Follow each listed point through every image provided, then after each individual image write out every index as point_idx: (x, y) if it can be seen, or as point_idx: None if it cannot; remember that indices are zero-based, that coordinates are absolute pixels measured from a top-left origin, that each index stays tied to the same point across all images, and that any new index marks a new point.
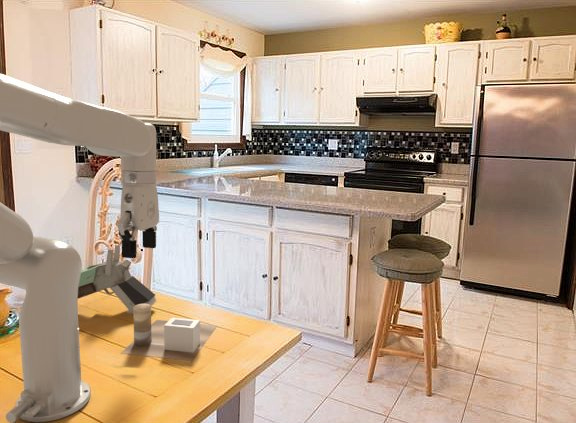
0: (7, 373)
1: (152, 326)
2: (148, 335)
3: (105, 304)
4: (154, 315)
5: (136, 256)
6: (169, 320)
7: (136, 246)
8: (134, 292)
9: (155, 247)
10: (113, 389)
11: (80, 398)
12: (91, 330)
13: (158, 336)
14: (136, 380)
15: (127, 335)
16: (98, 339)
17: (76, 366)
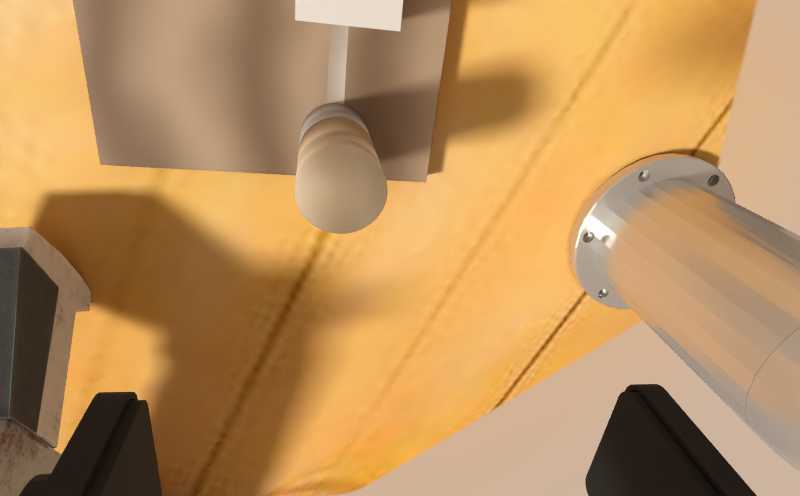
0: (512, 393)
1: (179, 156)
2: (351, 116)
3: None
4: (21, 202)
5: (642, 388)
6: (336, 21)
7: (722, 490)
8: (27, 338)
9: (100, 393)
10: (606, 113)
11: (676, 173)
12: (245, 351)
13: (269, 93)
14: (562, 62)
15: (251, 227)
16: (304, 301)
17: (746, 217)
